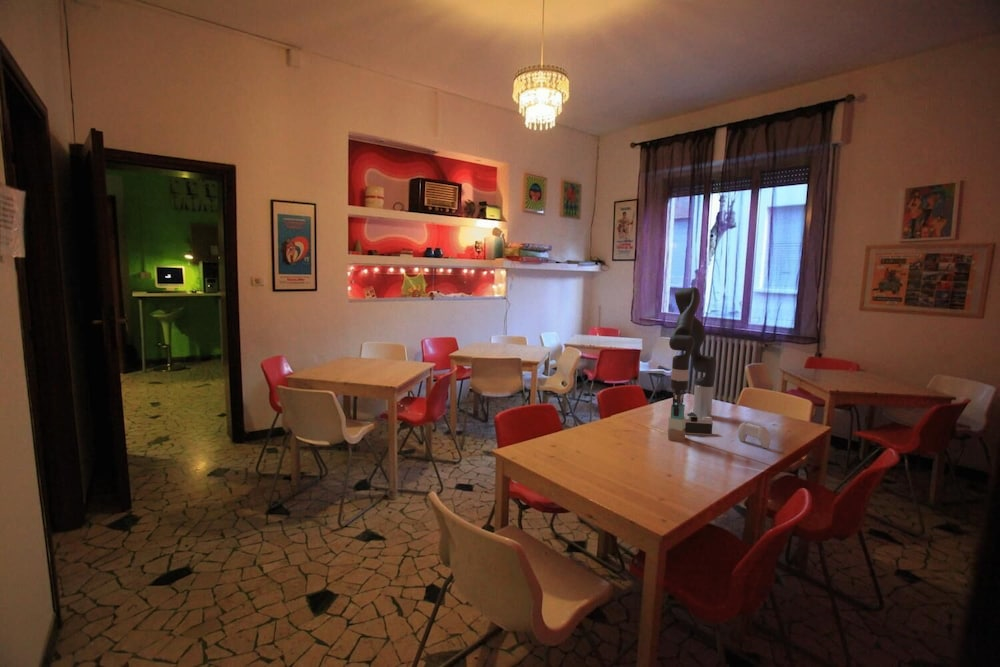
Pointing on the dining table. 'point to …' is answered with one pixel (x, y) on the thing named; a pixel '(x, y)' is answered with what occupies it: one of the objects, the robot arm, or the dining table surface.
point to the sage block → (677, 424)
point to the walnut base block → (676, 435)
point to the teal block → (681, 412)
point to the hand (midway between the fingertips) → (677, 414)
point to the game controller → (754, 433)
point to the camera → (698, 424)
